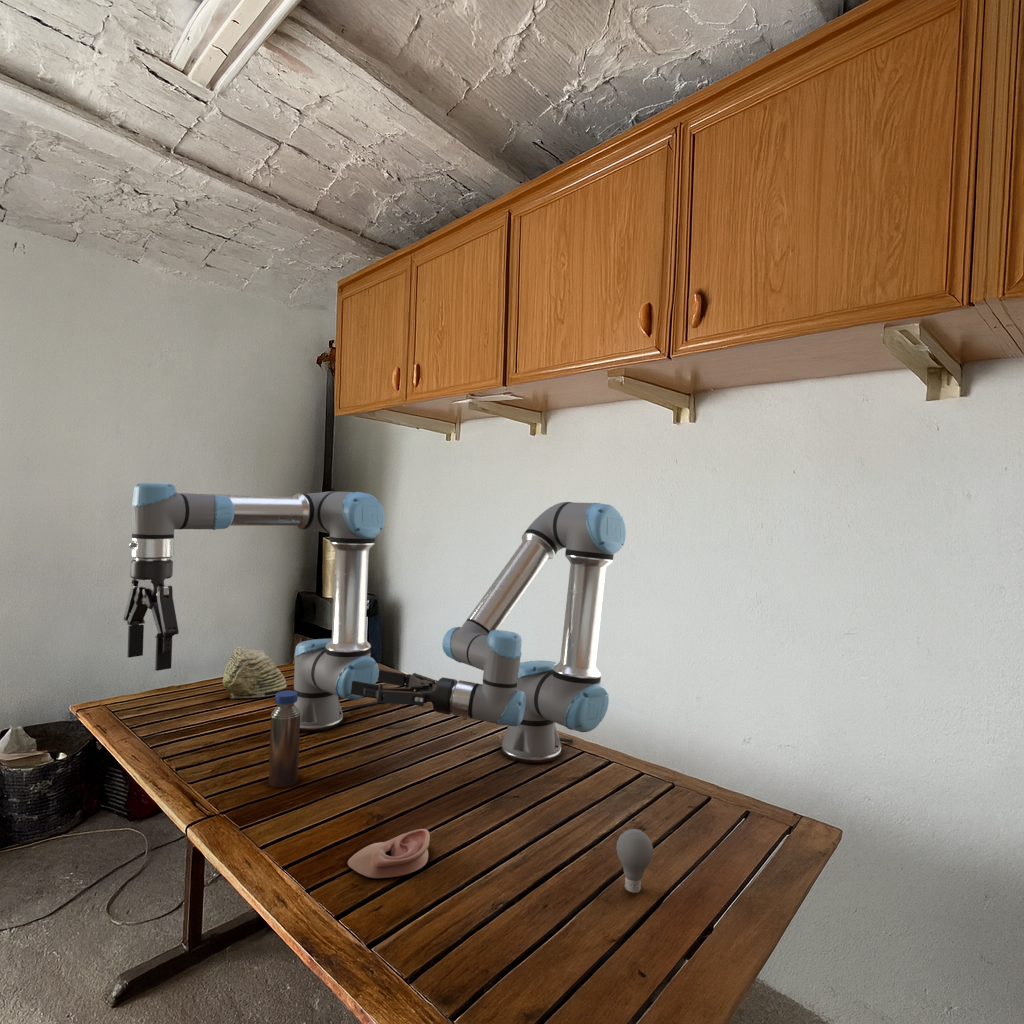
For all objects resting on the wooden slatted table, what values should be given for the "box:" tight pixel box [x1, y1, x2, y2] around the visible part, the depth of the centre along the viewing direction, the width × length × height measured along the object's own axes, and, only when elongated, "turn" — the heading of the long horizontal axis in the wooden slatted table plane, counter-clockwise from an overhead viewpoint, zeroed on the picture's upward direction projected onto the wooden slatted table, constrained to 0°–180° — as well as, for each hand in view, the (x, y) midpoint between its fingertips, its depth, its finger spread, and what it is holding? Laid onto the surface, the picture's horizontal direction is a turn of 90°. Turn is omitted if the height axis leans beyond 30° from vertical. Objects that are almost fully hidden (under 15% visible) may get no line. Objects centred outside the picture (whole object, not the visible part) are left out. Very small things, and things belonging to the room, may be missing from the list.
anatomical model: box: [347, 828, 431, 879], centre depth 111 cm, size 13×4×12 cm
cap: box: [274, 689, 298, 705], centre depth 140 cm, size 5×5×2 cm
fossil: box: [222, 646, 288, 699], centre depth 198 cm, size 9×18×15 cm, turn 132°
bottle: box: [268, 703, 301, 788], centre depth 140 cm, size 6×6×19 cm
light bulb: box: [615, 828, 654, 894], centre depth 106 cm, size 6×6×10 cm
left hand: (148, 662), depth 129 cm, fingers open, 13 cm apart
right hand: (366, 681), depth 144 cm, fingers open, 13 cm apart
